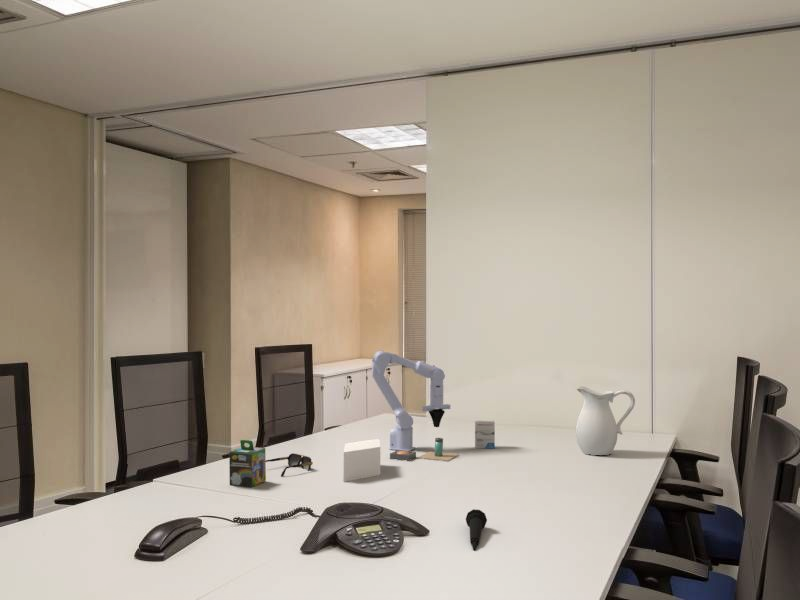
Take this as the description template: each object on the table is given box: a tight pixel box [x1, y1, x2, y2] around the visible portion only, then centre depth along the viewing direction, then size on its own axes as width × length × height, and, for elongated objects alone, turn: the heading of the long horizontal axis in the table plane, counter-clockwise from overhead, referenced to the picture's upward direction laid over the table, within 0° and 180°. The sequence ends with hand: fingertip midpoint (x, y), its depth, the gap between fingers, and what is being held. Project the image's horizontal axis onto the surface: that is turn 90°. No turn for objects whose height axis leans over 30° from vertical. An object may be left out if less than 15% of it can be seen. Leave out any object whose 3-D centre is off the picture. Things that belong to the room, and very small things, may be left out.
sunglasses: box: [265, 452, 313, 478], centre depth 249 cm, size 14×15×5 cm
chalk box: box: [228, 439, 267, 488], centre depth 230 cm, size 9×9×15 cm
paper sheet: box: [417, 451, 460, 462], centre depth 276 cm, size 13×13×1 cm
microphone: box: [465, 509, 488, 551], centre depth 176 cm, size 6×6×20 cm
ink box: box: [474, 419, 496, 449], centre depth 297 cm, size 8×5×12 cm, turn 84°
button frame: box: [389, 450, 417, 462], centre depth 273 cm, size 8×8×2 cm
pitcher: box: [575, 386, 636, 456], centre depth 285 cm, size 24×17×28 cm
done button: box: [397, 451, 409, 455], centre depth 273 cm, size 5×5×2 cm
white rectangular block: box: [342, 438, 381, 482], centre depth 247 cm, size 14×29×10 cm, turn 157°
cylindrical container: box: [434, 437, 444, 457], centre depth 276 cm, size 3×3×7 cm
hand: (436, 426), depth 293 cm, fingers closed
